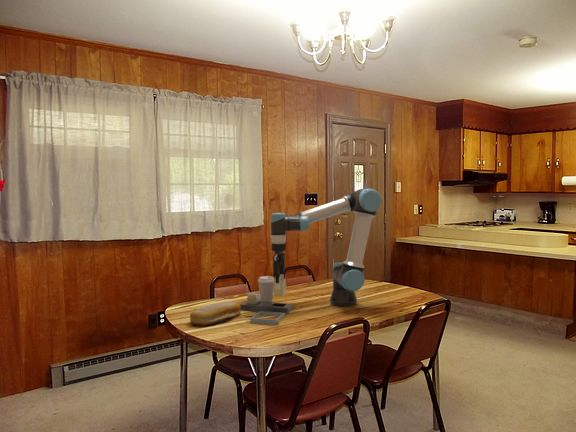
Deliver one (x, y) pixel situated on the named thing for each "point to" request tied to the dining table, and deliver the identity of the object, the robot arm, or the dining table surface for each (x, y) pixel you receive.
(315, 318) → the dining table surface
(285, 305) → the grey slotted holder
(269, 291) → the coffee cup
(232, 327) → the dining table surface
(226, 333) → the dining table surface
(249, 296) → the grey rectangular block
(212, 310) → the bread
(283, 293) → the tan rectangular block
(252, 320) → the parts tray
